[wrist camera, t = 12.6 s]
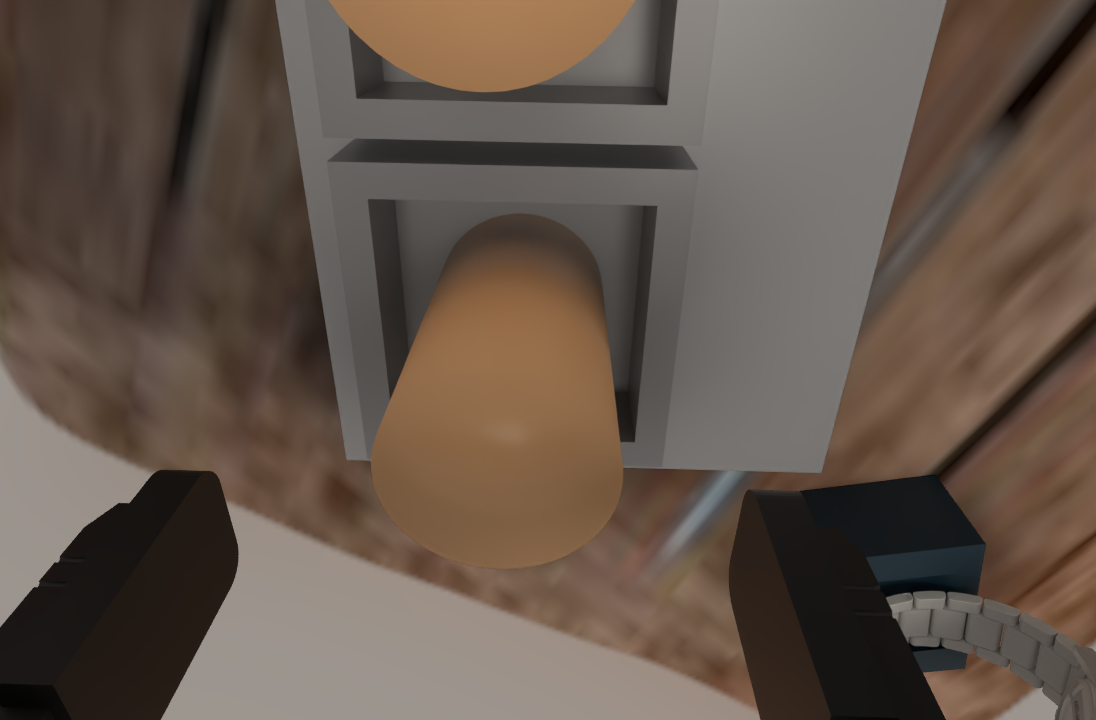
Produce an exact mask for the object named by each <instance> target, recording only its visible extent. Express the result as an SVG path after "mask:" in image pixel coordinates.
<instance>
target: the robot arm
mask: <svg viewBox="0 0 1096 720" xmlns="http://www.w3.org/2000/svg"><path fill="white" fill-rule="evenodd" d="M237 566H238V544H237V540H236V537H235V533H234V529H233V526H232V522H231V519H230V515H229V512H228V508H227V504H226V501H225V497H224V494H223V490H222V487H221V483H220V480H219V478H218V476H217V475H216V474H215V473H214V472H211V471H187V470H159V471H157V472H155V473H154V474H153V475H152V476H151V477H150V478H149V479H148V481H147V482H146V483H145V484H144V486H143V487H142V488H141V490H140V491H139V492H138V493H137V495H136V496H135V497H134V498H133V500H132V501H131V502H130V503H118V504H117V505H115V506H114V507H113V508H111V509H110V510H109V511H107V512H105V513H104V514H103V515H101V516H100V517H98V518H97V519H96V520H94V521H93V522H91V523H90V524H88V525H87V526H86V527H84V528H83V530H82V531H81V532H80V533H79V534H78V535H77V537H76V538H75V539H74V540H73V541H72V543H71V544H70V545H69V546H68V547H67V549H66V550H65V551H64V552H63V553H62V555H61V556H60V561H59V562H58V563H56V562H55V563H54V564H53V565H52V566H51V568H50V569H49V570H48V571H47V572H46V574H45V575H44V576H43V577H42V578H41V579H40V581H39V582H40V584H39V586H38V587H34V588H33V589H32V590H31V591H30V592H29V594H28V595H27V596H26V597H25V598H24V600H23V601H22V602H21V603H20V604H19V606H18V607H17V608H16V609H15V611H14V612H13V613H12V614H11V615H10V616H9V617H8V619H7V620H6V621H5V622H4V623H3V625H2V626H1V627H0V720H161V718H162V716H163V714H164V713H165V711H166V709H167V707H168V705H169V703H170V701H171V699H172V697H173V696H174V694H175V692H176V690H177V688H178V686H179V684H180V682H181V680H182V679H183V677H184V675H185V673H186V671H187V669H188V667H189V665H190V663H191V662H192V660H193V658H194V656H195V654H196V652H197V650H198V648H199V647H200V645H201V643H202V641H203V639H204V637H205V635H206V633H207V631H208V630H209V628H210V626H211V624H212V622H213V620H214V618H215V616H216V614H217V613H218V611H219V609H220V607H221V605H222V603H223V601H224V599H225V597H226V595H227V594H228V592H229V590H230V588H231V586H232V584H233V581H234V578H235V574H236V571H237ZM879 587H880V585H879V583H878V581H877V579H876V577H875V575H874V573H873V571H872V569H871V567H870V565H869V563H868V561H867V559H866V557H865V555H864V554H863V553H862V552H861V551H860V550H859V549H858V548H857V547H856V546H855V545H854V544H853V543H852V542H851V541H850V540H849V539H848V538H847V537H846V536H845V535H844V534H843V533H842V532H841V531H840V530H839V529H838V528H830V527H817V526H816V524H815V521H814V519H813V517H812V514H811V512H810V510H809V507H808V505H807V503H806V501H805V499H804V497H803V495H802V494H801V493H800V492H798V491H774V490H748V491H747V492H746V493H745V496H744V499H743V503H742V508H741V512H740V517H739V522H738V527H737V531H736V536H735V541H734V546H733V550H732V555H731V560H730V567H729V589H730V598H731V603H732V608H733V612H734V616H735V620H736V624H737V628H738V632H739V636H740V640H741V644H742V648H743V652H744V656H745V660H746V664H747V668H748V672H749V676H750V680H751V684H752V688H753V692H754V695H755V699H756V703H757V707H758V711H759V715H760V719H761V720H946V719H945V717H944V715H943V713H942V711H941V709H940V707H939V705H938V703H937V701H936V699H935V697H934V695H933V693H932V691H931V689H930V687H929V685H928V683H927V681H926V679H925V676H924V674H923V672H922V670H921V668H920V666H919V664H918V662H917V660H916V658H915V656H914V654H913V652H912V650H911V648H910V646H909V644H908V642H907V640H906V638H905V636H904V634H903V632H902V630H901V628H900V626H899V624H898V622H897V620H896V618H893V616H892V612H893V611H892V609H891V607H890V605H889V603H888V601H887V599H886V597H885V595H884V593H883V592H880V588H879Z"/></svg>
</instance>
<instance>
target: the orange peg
mask: <svg viewBox="0 0 1096 720" xmlns="http://www.w3.org/2000/svg"><path fill="white" fill-rule="evenodd" d="M371 475H372V480H373V484H374V488H375V491H376V494H377V496H378V499H379V501H380V503H381V504H382V506H383V508H384V510H385V511H386V513H387V514H388V515H389V517H390V518H391V519H392V521H393V522H394V523H395V524H396V525H397V526H398V527H399V528H400V529H401V530H402V531H403V532H404V533H405V534H406V535H407V536H409V537H410V538H411V539H412V540H413V541H415V542H416V543H418V544H419V545H421V546H423V547H424V548H426V549H427V550H429V551H431V552H433V553H435V554H437V555H439V556H441V557H444V558H447V559H449V560H452V561H455V562H458V563H462V564H466V565H470V566H475V567H481V568H491V569H517V568H526V567H532V566H537V565H541V564H545V563H548V562H551V561H554V560H557V559H560V558H562V557H564V556H566V555H568V554H571V553H572V552H574V551H576V550H577V549H579V548H581V547H582V546H584V545H585V544H586V543H588V542H589V541H590V540H591V539H593V538H594V537H595V536H596V535H597V534H598V533H599V532H600V531H601V530H602V529H603V527H604V526H605V525H606V523H607V522H608V521H609V519H610V518H611V516H612V514H613V512H614V511H615V509H616V507H617V504H618V501H619V498H620V496H621V491H622V485H623V463H622V454H621V445H620V436H619V428H618V419H617V410H616V401H615V393H614V384H613V375H612V367H611V358H610V349H609V340H608V332H607V323H606V314H605V305H604V297H603V288H602V280H601V274H600V271H599V267H598V264H597V262H596V260H595V258H594V256H593V254H592V252H591V251H590V249H589V248H588V246H587V245H586V244H585V243H584V242H583V241H582V239H581V238H580V237H578V236H577V235H576V234H575V233H574V232H573V231H571V230H570V229H568V228H567V227H566V226H564V225H562V224H560V223H558V222H556V221H554V220H551V219H549V218H546V217H542V216H538V215H533V214H522V213H521V214H507V215H501V216H497V217H494V218H491V219H488V220H486V221H484V222H482V223H480V224H478V225H476V226H475V227H473V228H472V229H470V230H469V231H468V232H467V233H466V234H464V235H463V236H462V237H461V239H460V240H459V241H458V242H457V243H456V244H455V246H454V247H453V249H452V250H451V252H450V254H449V256H448V258H447V260H446V263H445V265H444V268H443V270H442V273H441V275H440V278H439V280H438V283H437V285H436V288H435V290H434V293H433V295H432V298H431V300H430V303H429V305H428V308H427V310H426V312H425V315H424V317H423V320H422V322H421V325H420V327H419V330H418V332H417V335H416V337H415V340H414V342H413V345H412V347H411V350H410V352H409V355H408V357H407V360H406V362H405V365H404V367H403V370H402V372H401V375H400V377H399V380H398V382H397V385H396V387H395V389H394V392H393V394H392V397H391V399H390V402H389V404H388V407H387V409H386V412H385V414H384V417H383V419H382V422H381V424H380V427H379V429H378V432H377V434H376V437H375V441H374V444H373V447H372V454H371Z"/></svg>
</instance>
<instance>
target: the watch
mask: <svg viewBox="0 0 1096 720" xmlns="http://www.w3.org/2000/svg"><path fill="white" fill-rule="evenodd" d="M800 493H801V494H802V495H803V497H804V499H805V501H806V503H807V505H808V507H809V510H810V512H811V514H812V517H813V519H814V521H815V524H816V526H817V527H830V528H838V529H839V530H840V531H841V532H842V533H843V534H844V535H845V536H846V537H847V538H848V539H849V540H850V541H851V542H852V543H853V544H854V545H855V546H856V547H857V548H858V549H859V550H860V551H861V552H862V553H863V554H864V555H865V557H866V559H867V561H868V563H869V565H870V567H871V569H872V571H873V573H874V575H875V577H876V579H877V581H878V583H879V585H880V587H879V588H880V592H883V593H884V595H885V597H886V599H887V601H888V603H889V605H890V607H891V609H892V611H893V612H892V616H893V618H896V620H897V622H898V624H899V626H900V628H901V630H902V632H903V634H904V636H905V638H906V640H907V642H908V644H909V646H910V648H911V650H912V652H913V654H914V656H915V658H916V660H917V662H918V664H919V666H920V668H921V670H922V672H932V671H943V670H954V669H964V668H965V665H966V659H967V653H968V654H971V653H973V652H974V646H975V645H976V649H975V653H976V655H977V656H978V657H980V658H983V659H985V660H988V661H990V662H992V663H994V664H996V665H999V666H1001V667H1007V666H1008V665H1009V664H1010V660H1011V664H1010V670H1011V671H1012V672H1013V673H1014V674H1016V675H1017V676H1019V677H1021V678H1022V679H1024V680H1025V681H1027V682H1028V683H1030V684H1031V685H1032V686H1034V687H1036V688H1042V687H1043V689H1042V691H1043V693H1044V694H1045V695H1046V696H1047V697H1048V698H1049V699H1051V700H1052V701H1053V702H1054V703H1055V704H1056V705H1057V706H1058V709H1057V710H1056V714H1055V720H1096V651H1094V650H1093V649H1091V648H1087V647H1084V646H1081V645H1079V644H1078V643H1076V642H1075V641H1074V640H1072V639H1070V638H1069V637H1067V636H1066V635H1064V634H1062V633H1060V634H1058V630H1057V629H1056V628H1054V627H1052V626H1051V625H1049V624H1047V623H1045V622H1043V621H1041V620H1040V619H1038V618H1035V617H1033V616H1031V615H1029V614H1027V613H1023V614H1022V615H1021V618H1020V613H1021V612H1020V610H1018V609H1016V608H1014V607H1011V606H1009V605H1006V604H1003V603H1000V602H996V601H993V600H990V599H985V600H984V603H983V608H981V606H982V600H983V599H982V598H981V597H979V596H977V593H978V587H979V581H980V575H981V569H982V563H983V557H984V551H985V545H986V544H985V542H984V541H983V540H982V538H981V537H980V535H979V534H978V533H977V531H976V530H975V529H974V527H973V526H972V524H971V523H970V522H969V520H968V519H967V518H966V516H965V515H964V513H963V512H962V511H961V509H960V508H959V507H958V505H957V504H956V502H955V501H954V500H953V498H952V497H951V496H950V494H949V493H948V491H947V490H946V489H945V487H944V486H943V485H942V483H941V482H940V480H939V479H938V478H937V476H936V475H930V476H922V477H914V478H906V479H897V480H889V481H881V482H873V483H865V484H857V485H848V486H840V487H832V488H824V489H816V490H808V491H800ZM1019 618H1020V622H1019ZM1004 624H1005V628H1004V633H1003V638H1002V643H1001V647H1000V641H1001V636H1002V631H1003V626H1004ZM1040 646H1041V647H1040ZM1039 650H1040V652H1039ZM1038 655H1039V656H1038ZM1037 659H1038V660H1037ZM1036 663H1037V664H1036Z"/></svg>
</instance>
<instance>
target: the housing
mask: <svg viewBox="0 0 1096 720" xmlns="http://www.w3.org/2000/svg"><path fill="white" fill-rule="evenodd" d="M275 2H276V9H277V15H278V22H279V28H280V34H281V41H282V47H283V54H284V60H285V67H286V73H287V79H288V86H289V92H290V99H291V105H292V112H293V118H294V124H295V131H296V137H297V144H298V150H299V157H300V163H301V169H302V176H303V182H304V189H305V195H306V202H307V208H308V214H309V221H310V227H311V234H312V240H313V247H314V253H315V259H316V266H317V272H318V279H319V285H320V292H321V298H322V304H323V311H324V317H325V324H326V330H327V337H328V343H329V349H330V356H331V362H332V369H333V375H334V382H335V388H336V394H337V401H338V407H339V414H340V420H341V427H342V433H343V439H344V446H345V452H346V459H347V460H368V461H371V454H372V447H373V444H374V441H375V437H376V434H377V432H378V429H379V427H380V424H381V422H382V419H383V417H384V414H385V412H386V409H387V407H388V404H389V402H390V399H391V397H392V394H393V392H394V389H395V387H396V385H397V382H398V380H399V377H400V375H401V372H402V370H403V367H404V365H405V362H406V360H407V357H408V355H409V352H410V350H411V347H412V345H413V342H414V340H415V337H416V335H417V332H418V330H419V327H420V325H421V322H422V320H423V317H424V315H425V312H426V310H427V308H428V305H429V303H430V300H431V298H432V295H433V293H434V290H435V288H436V285H437V283H438V280H439V278H440V275H441V273H442V270H443V268H444V265H445V263H446V260H447V258H448V256H449V254H450V252H451V250H452V249H453V247H454V246H455V244H456V243H457V242H458V241H459V240H460V239H461V237H462V236H463V235H464V234H466V233H467V232H468V231H469V230H470V229H472V228H473V227H475V226H476V225H478V224H480V223H482V222H484V221H486V220H488V219H491V218H494V217H497V216H501V215H507V214H521V213H522V214H533V215H538V216H542V217H546V218H549V219H551V220H554V221H556V222H558V223H560V224H562V225H564V226H566V227H567V228H568V229H570V230H571V231H573V232H574V233H575V234H576V235H577V236H578V237H580V238H581V239H582V241H583V242H584V243H585V244H586V245H587V246H588V248H589V249H590V251H591V252H592V254H593V256H594V258H595V260H596V262H597V264H598V267H599V271H600V274H601V280H602V288H603V297H604V305H605V314H606V323H607V332H608V340H609V349H610V358H611V367H612V375H613V384H614V393H615V401H616V410H617V419H618V428H619V436H620V445H621V454H622V463H623V468H658V469H694V470H731V471H767V472H803V473H821V472H822V469H823V465H824V461H825V457H826V453H827V450H828V446H829V442H830V438H831V435H832V431H833V427H834V423H835V420H836V416H837V412H838V408H839V404H840V401H841V397H842V393H843V389H844V386H845V382H846V378H847V374H848V370H849V367H850V363H851V359H852V355H853V352H854V348H855V344H856V340H857V336H858V333H859V329H860V325H861V321H862V318H863V314H864V310H865V306H866V302H867V299H868V295H869V291H870V287H871V284H872V280H873V276H874V272H875V268H876V265H877V261H878V257H879V253H880V250H881V246H882V242H883V238H884V234H885V231H886V227H887V223H888V219H889V216H890V212H891V208H892V204H893V200H894V197H895V193H896V189H897V185H898V182H899V178H900V174H901V170H902V166H903V163H904V159H905V155H906V151H907V148H908V144H909V140H910V136H911V133H912V129H913V125H914V121H915V117H916V114H917V110H918V106H919V102H920V99H921V95H922V91H923V87H924V83H925V80H926V76H927V72H928V68H929V65H930V61H931V57H932V53H933V49H934V46H935V42H936V38H937V34H938V31H939V27H940V23H941V19H942V15H943V12H944V8H945V4H946V0H275Z"/></svg>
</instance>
